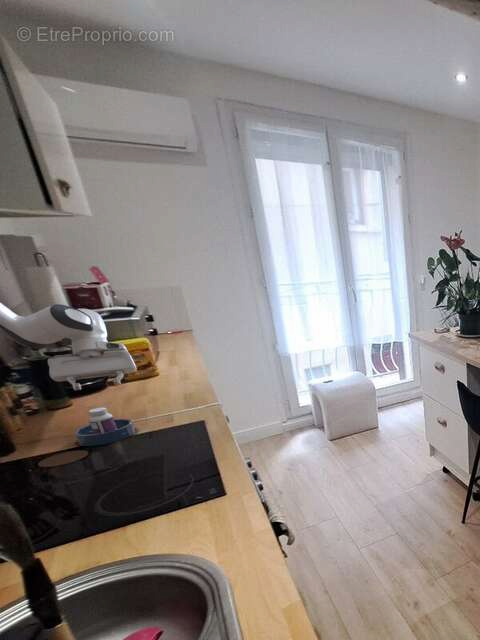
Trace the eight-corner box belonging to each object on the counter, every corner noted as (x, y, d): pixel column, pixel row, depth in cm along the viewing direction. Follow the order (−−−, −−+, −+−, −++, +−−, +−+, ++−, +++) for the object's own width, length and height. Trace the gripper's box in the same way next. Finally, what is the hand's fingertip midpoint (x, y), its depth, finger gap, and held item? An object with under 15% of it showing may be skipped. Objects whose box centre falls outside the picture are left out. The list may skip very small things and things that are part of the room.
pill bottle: (120, 432, 136) (110, 405, 133) (118, 437, 133) (108, 410, 129) (97, 436, 133) (86, 409, 130) (95, 442, 129) (84, 414, 126)
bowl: (80, 451, 124) (75, 439, 123) (78, 438, 133) (73, 427, 131) (138, 437, 134) (134, 426, 132) (133, 426, 142) (129, 415, 140)
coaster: (38, 472, 113) (37, 470, 112) (38, 460, 119) (37, 458, 119) (90, 459, 120) (89, 457, 119) (87, 448, 126) (87, 447, 126)
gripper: (42, 351, 131) (47, 387, 127) (129, 343, 143) (135, 376, 139) (51, 361, 136) (56, 397, 132) (134, 353, 148) (140, 385, 144)
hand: (97, 386), depth 136 cm, fingers open, 8 cm apart
